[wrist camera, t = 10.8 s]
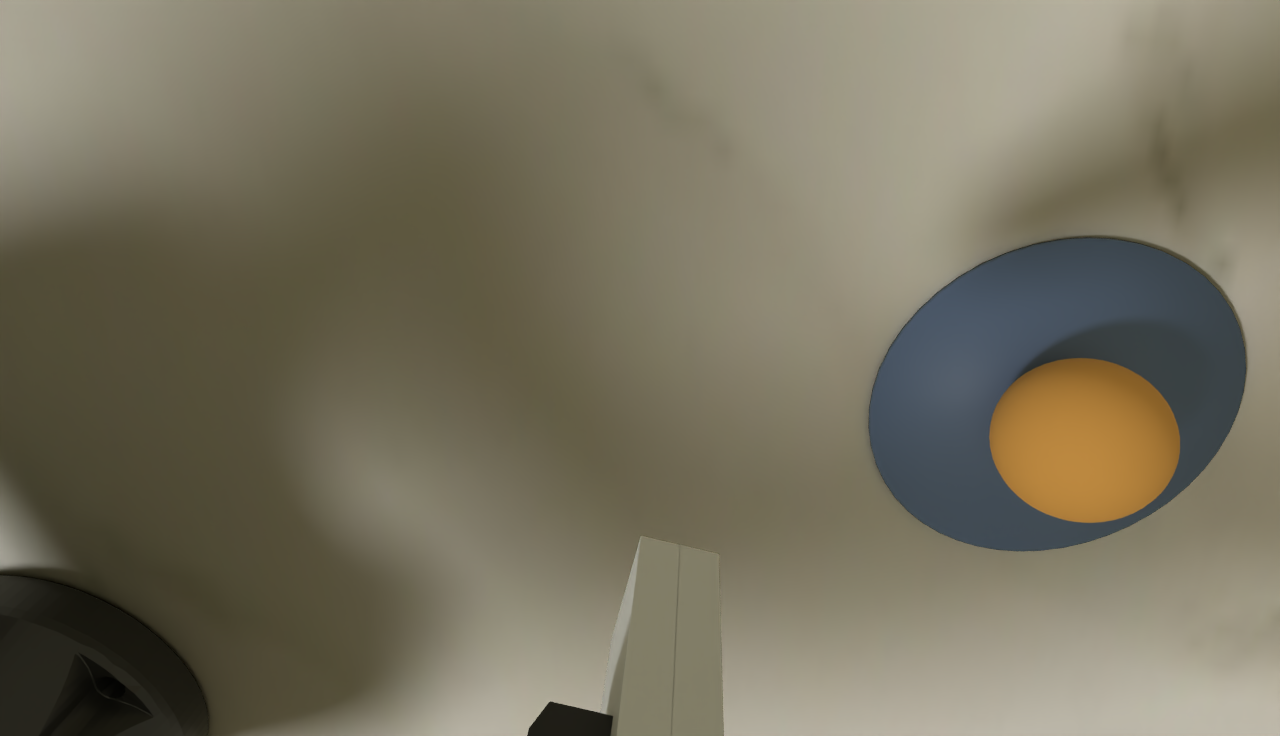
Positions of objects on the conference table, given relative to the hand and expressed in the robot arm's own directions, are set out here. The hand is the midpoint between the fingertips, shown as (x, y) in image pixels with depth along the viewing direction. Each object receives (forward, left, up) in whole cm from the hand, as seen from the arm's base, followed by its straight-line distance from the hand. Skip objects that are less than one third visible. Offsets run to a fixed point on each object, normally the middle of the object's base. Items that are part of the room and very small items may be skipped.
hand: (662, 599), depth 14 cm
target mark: (+14, 0, -14) cm, 20 cm away
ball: (+14, 0, -12) cm, 18 cm away
